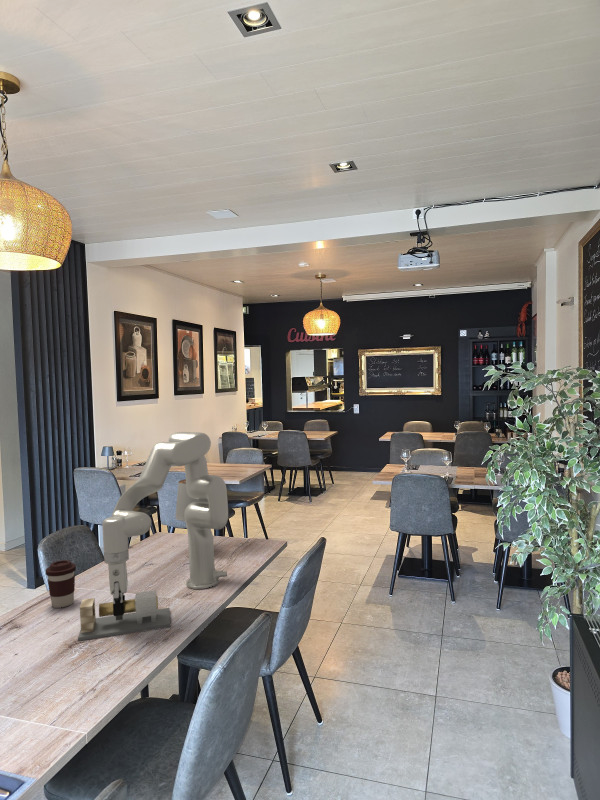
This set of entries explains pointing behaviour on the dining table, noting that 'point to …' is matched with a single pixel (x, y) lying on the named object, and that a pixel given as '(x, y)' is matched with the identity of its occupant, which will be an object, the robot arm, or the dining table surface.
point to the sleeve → (146, 606)
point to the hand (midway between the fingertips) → (119, 610)
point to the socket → (87, 615)
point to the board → (126, 625)
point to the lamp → (183, 500)
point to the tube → (129, 607)
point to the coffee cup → (61, 583)
